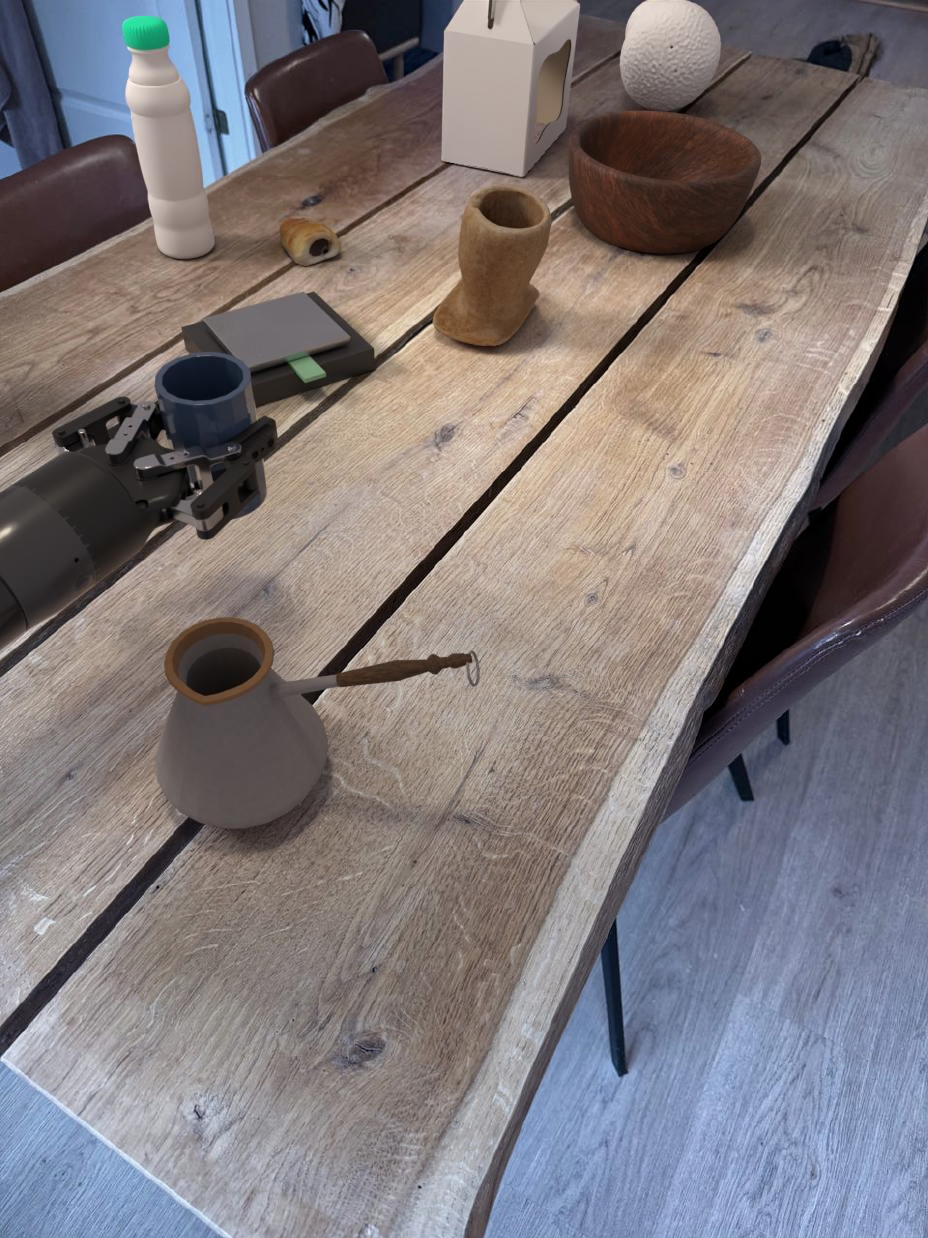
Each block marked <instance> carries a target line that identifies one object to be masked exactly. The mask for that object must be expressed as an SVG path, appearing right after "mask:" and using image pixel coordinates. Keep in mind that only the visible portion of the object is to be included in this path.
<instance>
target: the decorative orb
mask: <svg viewBox="0 0 928 1238" xmlns="http://www.w3.org/2000/svg"><path fill="white" fill-rule="evenodd" d="M718 28H719V27H718V26H717V25H716V22H715V20H714V19H713V17H712V15H710V13H709V12H708V11H707V10H706V9H704V8H703V7H702V6H701V5H699V4H697V3H695V2H692V1H690V0H644V1H643V2H641V3H640V4H639V5H637V6H636V8H635V9H634V10H633V12H632V13H631V15H630V17H629V18H628V20H627V23H626V27H625V32H624V33H625V34H624V36H625V37H624V41H623V43H622V47H621V49H620V55H619V69H620V77H621V81H622V85H623V87H624V89H625V91H626V93H627V95H629V97H630V98H631V99H632V101H633V102H635V103H636V104H637V105H639V106H640V107H642V108H645V109H646V111H660V112H673V111H675V110H679V109H681V108H684V107H686V106H688V105H690V104H691V103H693V101H695V100H696V99H697V98H698V97H700V96H701V95H702V94H703V93H704V92H705V90H706V89H707V88H708V86H709V85H710V83H711V81H712V80H713V78H714V76H715V74H716V72H717V69H718V67H719V62H720V60H721V50H722V41H721V34H720V32H719V29H718Z"/></svg>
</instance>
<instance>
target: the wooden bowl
mask: <svg viewBox="0 0 928 1238" xmlns="http://www.w3.org/2000/svg"><path fill="white" fill-rule="evenodd" d="M569 137H570V138H569V140H568V151H567V152H568V155H567V157H568V159H567V161H568V163H567V165H568V183H569V192H570V197H571V201H572V204H573V208H574V210H575V213H576V215H577V217H578V219H579V221H580V222H581V224H582V225H583V226H584V227H585V229H586V230H588V231H589V232H590V233H591V234H593V235H594V236H595V237H596V238H599V239H600V240H602V241H604V242H606V243H608V244H611V245H613V246H616V247H619V248H623V249H626V250H629V251H634V252H641V253H648V254H657V255H658V254H660V255H661V254H662V255H675V254H685V253H691V252H696V251H700V250H702V249H705V248H708V247H709V246H711V245H712V244H715V243H716V242H717V241H719V240H720V239H721V238H722V237H723V236H724V235H725V234H727V232H728V231H729V230H730V228H731V227H732V226H733V225H734V224H735V222H736V221H737V219H738V218H739V216H740V214H741V213H742V211H743V209H744V207H745V205H746V203H747V201H748V199H749V197H750V195H751V192H752V190H753V187H754V185H755V183H756V180H757V177H758V175H759V172H760V169H761V166H762V154H761V151H760V150H759V148H758V147H757V145H756V144H755V143H754V142H753V141H752V140H751V139H750V138H749V137H747V136H746V135H744V134H743V133H740V132H739V131H737V130H735V129H734V128H731V127H729V126H727V125H724V124H723V123H719V122H716V121H713V120H710V119H707V118H702V117H698V116H694V115H689V114H686V113H685V114H684V113H679V112H672V111H662V112H660V111H654V110H626V111H616V112H610V113H605V114H602V115H597V116H594V117H592V118H589V119H587V120H585V121H583V122H582V123H580V124H579V125H578V126H576V127H575V128H574V129H573V130H572V132H571V134H570V136H569Z"/></svg>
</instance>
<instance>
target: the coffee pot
mask: <svg viewBox="0 0 928 1238" xmlns="http://www.w3.org/2000/svg"><path fill="white" fill-rule="evenodd" d="M164 657H165V658H164V662H163V668H164V675H165V677H166V679H167V681H168V682H169V684H170V685H171V687H173V688H174V689H175V690H176V694H175V697H174V698H173V702H172V705H171V707H170V710H169V712H168V715H167V718H166V720H165V723H164V726H163V728H162V731H161V734H160V737H159V739H158V744H157V749H156V753H155V756H154V765H155V774H156V780H157V783H158V785H159V787H160V789H161V791H162V793H163V796H164V797H165V798H166V799H167V801H168V802H169V803H171V804H172V806H173V807H175V809H176V810H177V811H178V812H179V813H181V814H182V815H185V816H186V817H188V818H190V819H192V820H193V821H196V822H198V823H199V824H202V825H206V826H211V827H214V828H219V829H224V830H229V829H230V830H231V829H234V830H235V829H236V830H237V829H249V828H253V827H258V826H260V825H264V824H265V825H266V824H268V823H270V822H272V821H274V820H276V819H278V818H280V817H282V816H285V815H287V814H288V813H289V812H291V811H292V810H293V809H294V808H296V807H297V806H298V805H299V804H300V803H302V802H303V801H304V800H305V799H306V798H307V796H308V795H309V793H311V791H312V789H314V786H316V784H317V783H318V781H319V780H320V778H321V775H322V772H323V770H324V767H325V765H326V762H327V759H328V745H329V744H328V743H329V739H328V735H327V731H326V727H325V724H324V721H323V720H322V718H321V716H320V715H319V713H318V712H317V710H316V709H315V707H314V705H313V704H312V703H310V702H309V701H308V700H307V699H306V698H305V697H303V694H307V693H312V692H318V691H323V690H328V689H334V688H347V687H358V686H365V685H366V686H367V685H376V684H385V683H394V682H402V681H405V680H406V679H410V678H414V677H416V676H420V675H424V674H426V673H429V674H431V675H433V676H435V675H436V676H437V675H438V674H440V672H442V670H445V669H449V668H450V669H455V670H457V669H460V668H462V667H465V671H466V677H467V681H468V682H469V685H470V686H471V687H473V688H474V687H477V686H478V685H479V682H480V678H481V674H480V673H481V672H480V671H481V670H480V668H481V667H480V662H479V659H478V655H477V653H476V652H475V650H473V649H472V650H469V651H468V652H467V653H464V652H454V653H450V654H449V655H448V656H439V655H437V654H436V653H431V654H430V655H428V657H427V658H424V659H423V658H422V659H421V658H420V659H394V660H389V661H385V662H381V663H380V662H379V663H376V664H371V665H368V666H363V667H359V668H355V669H350V670H346V671H342V672H338V673H337V674H331V675H323V676H316V677H310V678H309V677H308V678H303V679H295V680H289V681H288V680H287V681H286V680H285V679H284V678H283V677H282V676H281V675H280V674H278V673H277V672H276V671H275V670H274V669H273V668H272V667H273V664H274V659H275V649H274V644H273V641H272V640H271V638H270V636H269V635H268V634H267V632H266V630H264V629H263V628H261V626H259V625H257V624H256V623H254V622H252V621H250V620H247V619H243V618H238V617H234V616H224V617H223V616H220V617H215V618H209V619H204V620H202V621H200V622H197V623H195V624H192V625H191V626H189V627H188V628H186V629H185V630H183V631H181V633H179V634H178V636H176V637H175V638H174V639H173V640H172V641H171V644H170V645H169V647H168V649H167V650H166V653H165V656H164ZM473 659H474V663H475V669H476V670H475V671H476V672H475V673H476V678H475V682H474V681H473V679H472V677H471V670H470V669H471V668H470V665H471V664H472V663H473Z"/></svg>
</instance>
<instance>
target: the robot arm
mask: <svg viewBox="0 0 928 1238" xmlns="http://www.w3.org/2000/svg"><path fill="white" fill-rule="evenodd" d="M115 418H116V419H117V424H115V425H113V426H111V427H109V428H107V423H108V422H109V421H111V420H113V419H115ZM163 431H165V428H164V423H163V419H162V415H161V411H160V407H159V403H158V399H157V400H155V401H149V400H145V401H142V402H140V403H139V404H134V403H132V401H131V399H130V398H129V397H128V396H118V397H115V398H113V399H111V400H110V401H108V402H105V403H103V404H101V405H99V406H98V407H95V408H94V409H92V410H90V411H88V412H85V413H84V414H81V415H80V416H77V417H76V418H74V419H72V420H70V421H68V422H66V423H63V424H62V425H60V426H58V427H56V428H55V429H53V430H52V432H51V435H52V438H53V441H54V445H55V448H56V451H57V453H58V455H57V456H55V457H54V458H52V459H50V460H49V461H47V462H46V463H44V464H43V465H41V466H39V467H38V468H35V470H33V471H31V472H29V473H28V474H27V475H25V476H23V477H21V478H20V479H19V480H17V481H15V482H14V483H12V484H11V485H9V486H7V487H6V488H4V489H3V490H1V491H0V652H1V651H3V650H5V648H7V647H8V646H9V645H11V644H12V643H13V642H15V641H16V640H17V639H19V638H20V637H22V636H23V635H24V634H25V633H27V632H28V631H30V630H31V629H33V628H34V627H36V626H37V625H39V624H41V623H43V622H44V621H46V620H49V619H50V618H52V617H53V616H55V615H58V613H60V612H62V611H63V610H65V609H66V608H67V607H69V606H70V605H71V604H72V603H74V602H75V601H76V600H77V599H79V598H80V597H81V596H83V595H84V594H85V593H87V592H88V591H89V590H91V589H92V588H93V587H94V586H96V585H98V583H99V584H100V582H101V581H102V580H104V579H105V578H106V577H108V576H110V575H111V574H112V573H113V572H115V571H116V570H117V569H119V568H120V567H121V566H122V565H124V564H125V563H126V562H128V561H129V560H130V559H132V558H133V557H134V556H136V555H137V554H138V553H140V552H141V551H142V550H143V548H144V547H145V545H146V543H147V541H148V539H149V538H150V536H151V534H152V533H153V532H154V531H155V530H156V529H158V528H160V527H162V526H166V525H169V524H172V523H174V522H176V521H179V522H183V523H185V524H187V525H190V526H192V527H194V529H195V531H196V536H197V538H199V540H203V541H207V540H208V541H209V540H211V539H213V538H214V537H216V536H217V535H218V534H219V533H220V532H221V531H222V530H223V529H225V527H226V526H227V525H228V524H230V522H231V521H232V519H233V518H234V517H235V516H236V515H237V514H238V513H239V512H240V511H241V510H242V509H243V508H244V507H245V506H246V505H247V504H248V503H249V502H250V501H251V500H252V499H253V498H254V497H256V496H257V495H258V494H259V492H260V489H259V483H258V477H257V470H256V463H257V462H259V461H260V460H261V459H263V460H264V458H266V456H268V455H270V454H271V453H272V452H273V451H275V450H276V448H277V446H278V445H279V444H278V440H279V439H278V436H279V435H278V428H277V422H276V419H275V418H272V417H270V416H268V415H263V416H261V417H259V418H257V421H255V422H254V423H253V424H251V425H250V426H249V427H248V428H246V429H245V430H243V431H242V432H240V433H239V434H237V435H236V436H235V437H233V438H232V439H231V442H229V443H226V444H222V445H219V446H215V447H212V448H208V449H203V448H202V447H201V446H198V445H196V446H192V447H189V448H185V449H181V450H178V451H175V450H173V449H170V448H169V447H164V446H162V445H161V444H160V441H161V439H162V437H163ZM221 462H225V464H226V468H224V469H221V470H217V471H214V472H211V466H212V465H214V464H218V463H221ZM191 465H195V470H196V474H197V479H196V481H195V482H194V483H192V484H190V477H189V473H188V469H187V467H188V466H191ZM233 520H234V519H233Z"/></svg>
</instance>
